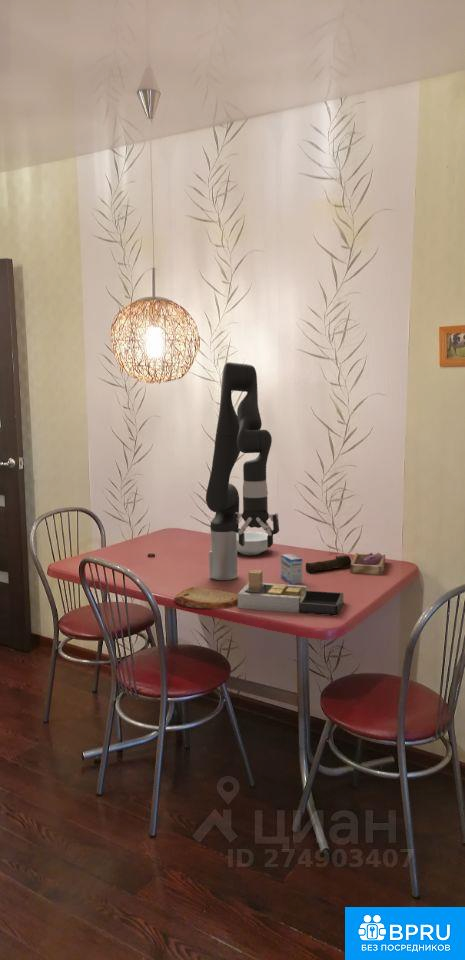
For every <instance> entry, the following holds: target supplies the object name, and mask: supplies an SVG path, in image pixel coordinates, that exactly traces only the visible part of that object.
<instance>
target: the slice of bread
mask: <svg viewBox="0 0 465 960" xmlns="http://www.w3.org/2000/svg"><path fill="white" fill-rule="evenodd" d="M173 603H175V604H178V605H180V606H182V607H188V608H193V609H194V608H196V609H224V608H226V609H227V608H232V607H236V606H238V593H234V592H229V591H224V590H217V589H208V588H199V587H194V586H192V587H190V588H185V589H183V590H182V591H180V592H179V593H177V594H176V595H175V597H174V598H173Z"/></svg>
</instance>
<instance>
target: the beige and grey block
mask: <svg viewBox="0 0 465 960" xmlns="http://www.w3.org/2000/svg"><path fill="white" fill-rule="evenodd" d="M247 576H248V577H247V579H248V582H249V588H248V589H247V590H246V593H259V594H265V584H263V583H264V581H263V577H264V576H263V570H262V569H251V570H249V571H248V574H247Z"/></svg>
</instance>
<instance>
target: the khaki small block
mask: <svg viewBox="0 0 465 960" xmlns="http://www.w3.org/2000/svg"><path fill="white" fill-rule="evenodd" d="M273 584H274V585H273V587H272V588H273V589H284V595H286V590H287V585H288V584H287V585H279V584H280V583H273Z"/></svg>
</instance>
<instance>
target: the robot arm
mask: <svg viewBox="0 0 465 960" xmlns="http://www.w3.org/2000/svg"><path fill="white" fill-rule="evenodd" d="M221 374H222V375H221V383H220V384H221V386H220V387H221V388H220V399H219V400H220V401H219V412H218V420H217V424H216V430H215V431H216V432H215V439H214V449H213V456H212V464H211V469H210V475H209V479H208V482H207V483H208V484H207V488H206V494H205V502H206V503H205V504H206V505H207V507H208V509H209V510H210V511H211V512H214V513H215V515H214V518H213V519H212V520H211V521H210V526H209V527H210V551H208V558H209V559H208V560H209V561H208V563H209V565H208V566H209V579H212V580H217V581H230V580H235V579H237V578H238V551H237V533H238V534H239V544H241V546H244V545H245V536H244V532H246V529H247V528H248V527H250V528H252V529H253V528H257V529H260V528H262V529H263V531H265V532H266V533H267V534H268V536H267V547H269V548H271V547H272V546H273V545H274V535H277V534H278V533H279V532H280V526H279V525H280V523H279V513H269V512H268V510H269V509H268V494H269V493H268V484H267V482H268V481H267V463H268V458H269V453H270V450H271V448H272V442H273V439H272V438H273V437H272V435H271V433H270V431H269V430H267V429H262V425H263V424H262V419H261V413H260V409H259V401H258V400H259V398H258V395H259V394H258V375H257V369H256V368H255V367H254V366H253V365H252V364H248V363H238V362H230V361H229V362H226V363H225V364H224V366H223V368H222V373H221ZM232 391H234V392H245V393H246V394H245V396H244V397H243V399H242V400H241V401H240V403H239V404H238V405H237V408H236V409H237V411H236V410H235V408H234V405H233V400H232V399H233V398H232V393H233V392H232ZM240 453H242V454H258V456H257V457H256V458H255V459H251V460H247V461H245V462H244V463H243V466H242V472H243V477H242V478H243V484H242V507H243V508H242V512H240V494H239V491H238V488H237V487H236V486H235V485H233V484H232V483H230V477H231V474H232V470H233V468H234V466H235V464H236V462H237V460H238V458H239V456H240ZM241 518H242V520H243V521H244V523H243V524H242V526H241V527H240V528H239V523H240V522H239V521H240V520H241ZM268 520H270V521H271V522H272V527H271V526H270V524H269V523H268Z"/></svg>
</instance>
